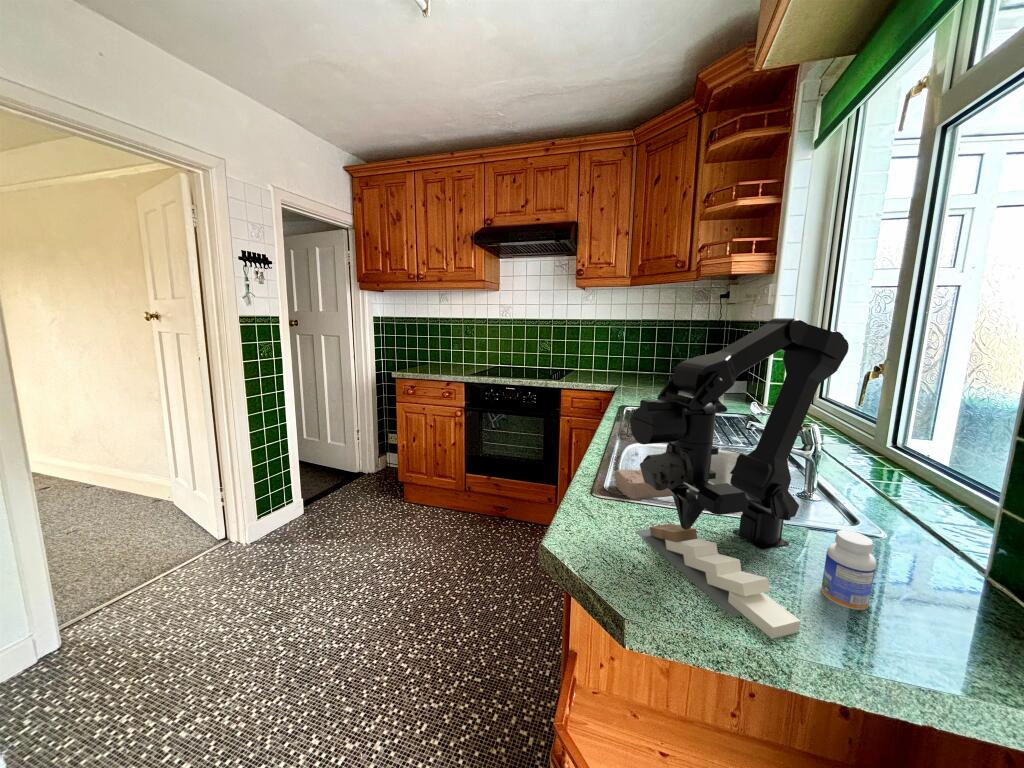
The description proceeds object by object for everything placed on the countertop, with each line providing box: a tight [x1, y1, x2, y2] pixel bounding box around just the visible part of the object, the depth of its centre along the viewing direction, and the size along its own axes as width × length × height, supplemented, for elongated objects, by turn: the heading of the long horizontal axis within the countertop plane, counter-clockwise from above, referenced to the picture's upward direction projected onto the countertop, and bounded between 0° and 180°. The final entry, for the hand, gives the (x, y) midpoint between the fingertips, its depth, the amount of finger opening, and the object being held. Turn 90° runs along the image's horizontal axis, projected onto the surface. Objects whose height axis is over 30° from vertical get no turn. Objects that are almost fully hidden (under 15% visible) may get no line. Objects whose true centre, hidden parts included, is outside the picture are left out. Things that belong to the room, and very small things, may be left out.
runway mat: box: [634, 528, 744, 618], centre depth 66 cm, size 8×23×1 cm, turn 16°
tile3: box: [683, 553, 742, 576], centre depth 63 cm, size 4×2×7 cm
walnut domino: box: [649, 523, 699, 542], centre depth 72 cm, size 4×2×7 cm
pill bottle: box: [820, 529, 877, 611], centre depth 58 cm, size 5×5×10 cm
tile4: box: [705, 570, 771, 596], centre depth 59 cm, size 4×2×7 cm
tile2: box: [665, 538, 719, 558], centre depth 68 cm, size 4×2×7 cm
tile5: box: [728, 591, 801, 640], centre depth 54 cm, size 4×2×7 cm
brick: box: [614, 468, 673, 500], centre depth 95 cm, size 17×8×5 cm, turn 100°
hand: (685, 528), depth 69 cm, fingers closed
